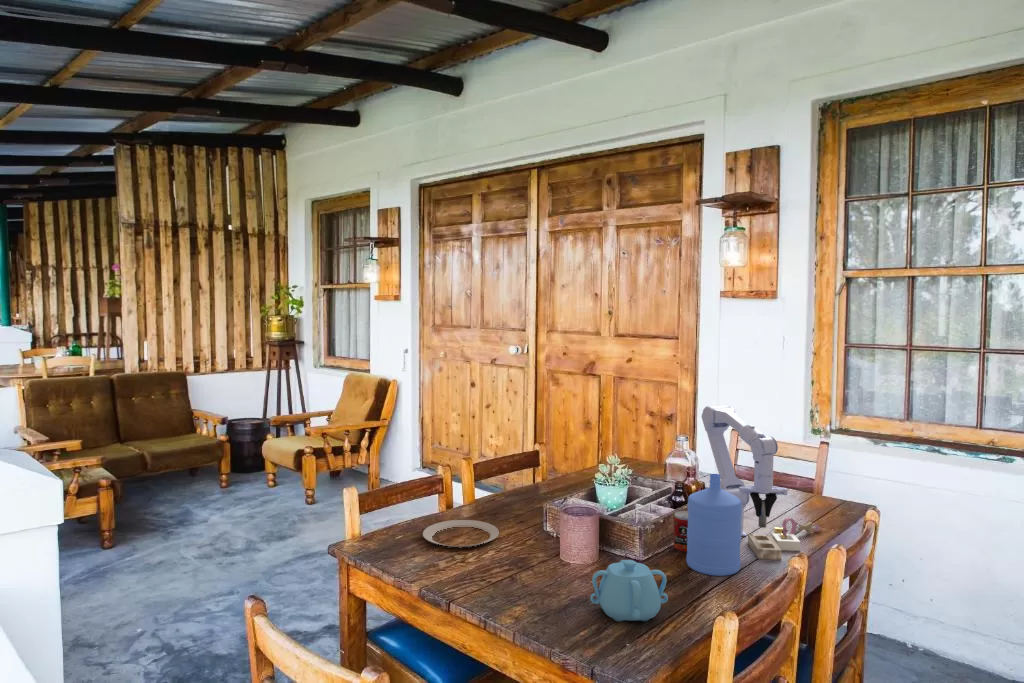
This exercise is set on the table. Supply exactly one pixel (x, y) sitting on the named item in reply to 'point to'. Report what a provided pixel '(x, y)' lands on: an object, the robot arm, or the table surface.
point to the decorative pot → (629, 591)
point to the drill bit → (763, 513)
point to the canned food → (680, 530)
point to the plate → (460, 523)
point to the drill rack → (764, 546)
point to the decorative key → (800, 527)
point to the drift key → (779, 532)
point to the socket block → (787, 542)
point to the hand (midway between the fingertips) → (762, 516)
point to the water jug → (714, 530)
